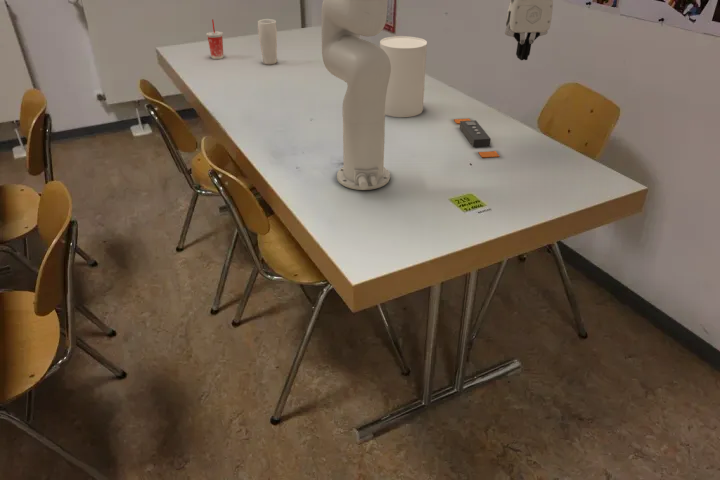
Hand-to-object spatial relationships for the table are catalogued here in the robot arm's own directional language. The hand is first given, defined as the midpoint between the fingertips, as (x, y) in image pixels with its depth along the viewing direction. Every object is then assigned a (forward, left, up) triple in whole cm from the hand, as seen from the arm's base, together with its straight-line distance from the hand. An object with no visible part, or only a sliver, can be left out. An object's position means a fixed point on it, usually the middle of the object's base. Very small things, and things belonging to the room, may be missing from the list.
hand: (522, 58), depth 147 cm
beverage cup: (+88, +85, -21) cm, 124 cm away
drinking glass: (+78, +65, -21) cm, 104 cm away
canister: (+24, +26, -21) cm, 41 cm away
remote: (0, +10, -21) cm, 23 cm away
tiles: (0, +10, -21) cm, 23 cm away
